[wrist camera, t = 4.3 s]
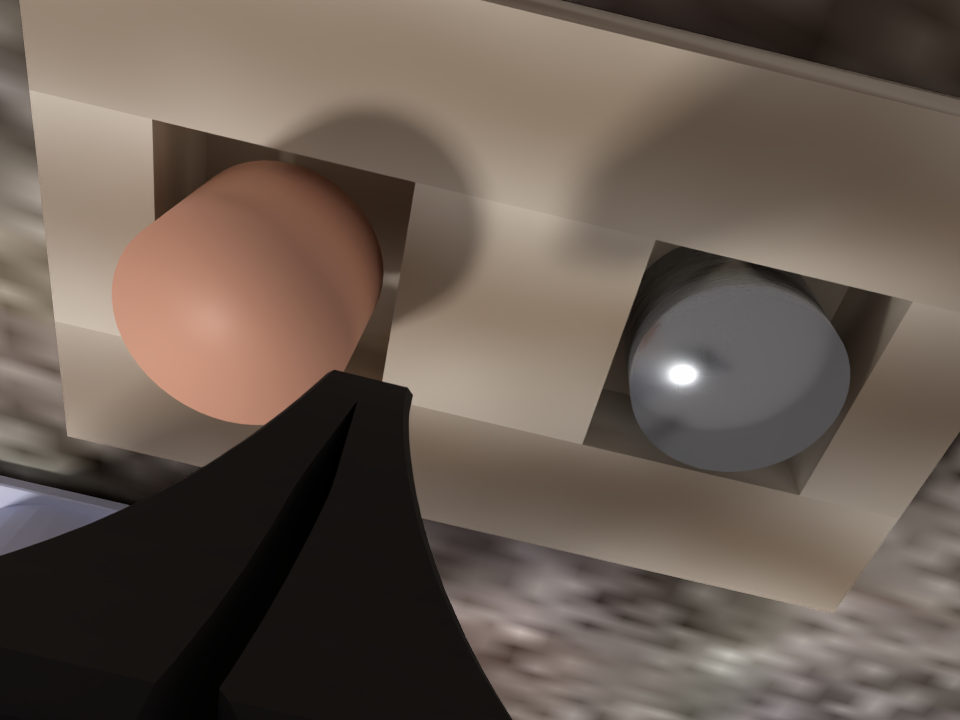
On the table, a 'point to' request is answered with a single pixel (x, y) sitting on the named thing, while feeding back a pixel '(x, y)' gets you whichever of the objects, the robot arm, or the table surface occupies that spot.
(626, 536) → the button panel
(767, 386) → the grey button
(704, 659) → the table surface
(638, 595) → the table surface
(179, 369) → the terracotta button
